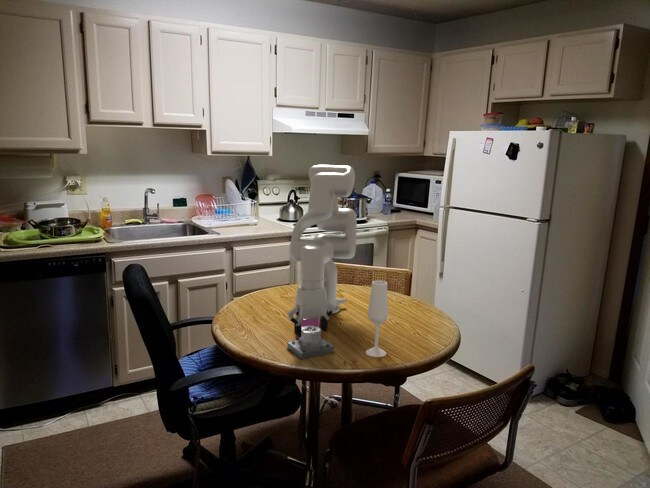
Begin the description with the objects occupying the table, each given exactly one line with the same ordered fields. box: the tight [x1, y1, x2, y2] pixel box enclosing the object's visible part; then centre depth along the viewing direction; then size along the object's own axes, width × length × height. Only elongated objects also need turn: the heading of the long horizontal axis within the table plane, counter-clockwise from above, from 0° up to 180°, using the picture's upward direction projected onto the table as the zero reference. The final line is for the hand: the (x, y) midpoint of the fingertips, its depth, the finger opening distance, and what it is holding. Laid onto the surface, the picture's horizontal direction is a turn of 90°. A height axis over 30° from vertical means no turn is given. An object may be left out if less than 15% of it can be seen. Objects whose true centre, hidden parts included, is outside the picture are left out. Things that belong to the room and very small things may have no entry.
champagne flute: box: [365, 280, 389, 358], centre depth 155 cm, size 7×7×24 cm
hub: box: [298, 325, 322, 348], centre depth 158 cm, size 7×7×5 cm
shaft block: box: [286, 329, 335, 360], centre depth 157 cm, size 12×10×7 cm
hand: (311, 333), depth 157 cm, fingers open, 9 cm apart
